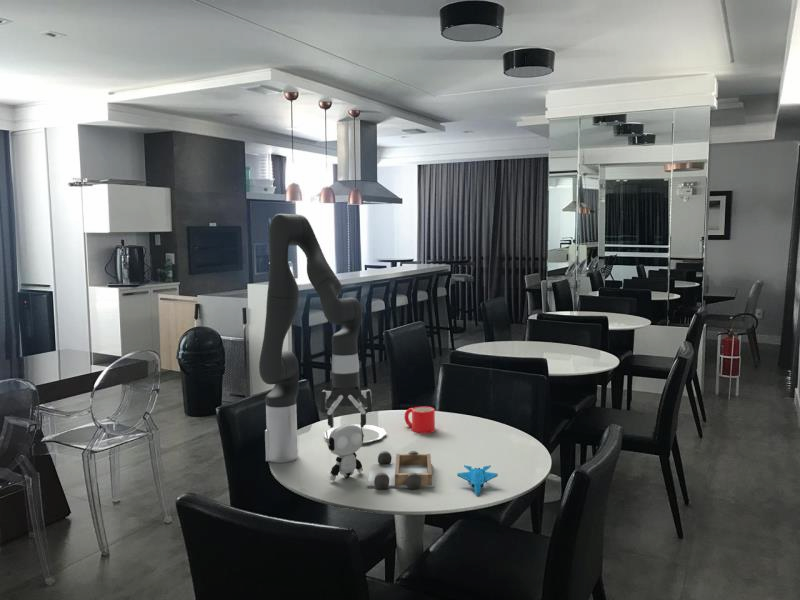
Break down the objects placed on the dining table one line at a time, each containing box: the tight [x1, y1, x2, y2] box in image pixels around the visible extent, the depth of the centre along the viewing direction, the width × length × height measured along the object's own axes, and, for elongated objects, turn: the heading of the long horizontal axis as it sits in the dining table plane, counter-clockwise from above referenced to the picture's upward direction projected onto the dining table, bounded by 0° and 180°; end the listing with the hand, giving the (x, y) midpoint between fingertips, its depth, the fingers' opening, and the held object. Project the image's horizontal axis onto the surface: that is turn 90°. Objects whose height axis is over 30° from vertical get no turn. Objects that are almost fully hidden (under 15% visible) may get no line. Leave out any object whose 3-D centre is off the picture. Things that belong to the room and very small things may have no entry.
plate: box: [323, 423, 387, 445], centre depth 224 cm, size 21×21×2 cm
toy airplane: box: [456, 464, 499, 497], centre depth 178 cm, size 12×10×4 cm
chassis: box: [366, 450, 435, 491], centre depth 186 cm, size 18×20×4 cm
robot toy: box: [325, 421, 365, 482], centre depth 185 cm, size 12×4×15 cm, turn 131°
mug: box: [404, 406, 436, 434], centre depth 230 cm, size 8×12×8 cm, turn 55°
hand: (347, 426), depth 184 cm, fingers open, 8 cm apart
